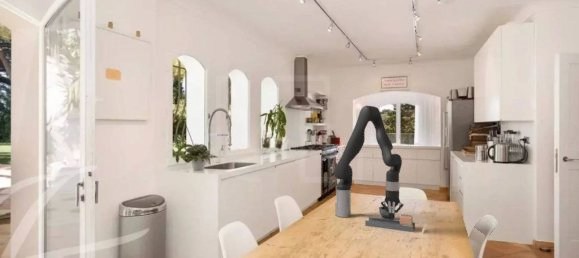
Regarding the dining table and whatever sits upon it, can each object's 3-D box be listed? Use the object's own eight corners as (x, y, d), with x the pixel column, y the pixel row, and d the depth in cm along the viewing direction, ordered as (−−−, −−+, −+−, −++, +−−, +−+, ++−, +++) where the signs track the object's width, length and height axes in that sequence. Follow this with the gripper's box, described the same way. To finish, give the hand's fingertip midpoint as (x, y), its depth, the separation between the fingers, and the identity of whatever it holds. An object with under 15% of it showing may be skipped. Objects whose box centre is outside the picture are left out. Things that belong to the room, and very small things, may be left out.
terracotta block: (399, 229, 191) (399, 216, 191) (401, 226, 196) (401, 214, 196) (411, 231, 188) (411, 218, 188) (412, 228, 193) (412, 215, 193)
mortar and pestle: (389, 222, 208) (389, 202, 208) (376, 219, 215) (376, 200, 214) (398, 218, 216) (398, 199, 215) (385, 215, 222) (385, 197, 222)
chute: (365, 227, 198) (365, 220, 198) (369, 223, 206) (369, 216, 206) (412, 233, 186) (412, 226, 186) (414, 229, 194) (415, 222, 194)
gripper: (379, 189, 195) (378, 219, 195) (403, 191, 189) (403, 222, 189) (381, 186, 202) (381, 216, 202) (405, 189, 196) (405, 219, 196)
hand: (391, 219), depth 196 cm, fingers closed
